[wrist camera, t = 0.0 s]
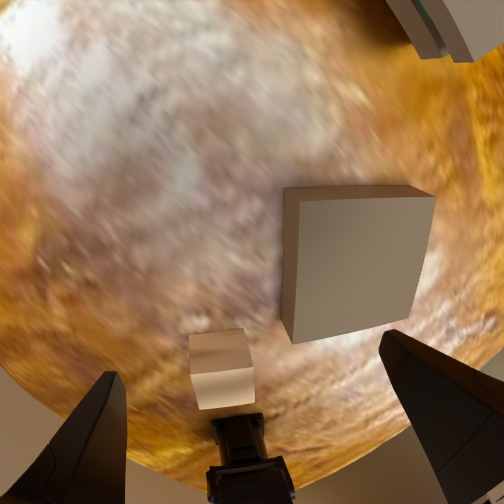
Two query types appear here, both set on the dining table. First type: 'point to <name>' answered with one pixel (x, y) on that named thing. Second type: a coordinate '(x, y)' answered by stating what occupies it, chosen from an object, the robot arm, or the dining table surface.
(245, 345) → the cream cube
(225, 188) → the dining table surface
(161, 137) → the dining table surface
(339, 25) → the dining table surface
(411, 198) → the gray block
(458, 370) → the robot arm
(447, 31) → the sharpening stone
